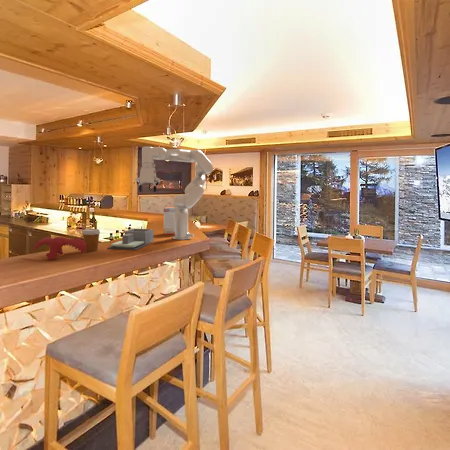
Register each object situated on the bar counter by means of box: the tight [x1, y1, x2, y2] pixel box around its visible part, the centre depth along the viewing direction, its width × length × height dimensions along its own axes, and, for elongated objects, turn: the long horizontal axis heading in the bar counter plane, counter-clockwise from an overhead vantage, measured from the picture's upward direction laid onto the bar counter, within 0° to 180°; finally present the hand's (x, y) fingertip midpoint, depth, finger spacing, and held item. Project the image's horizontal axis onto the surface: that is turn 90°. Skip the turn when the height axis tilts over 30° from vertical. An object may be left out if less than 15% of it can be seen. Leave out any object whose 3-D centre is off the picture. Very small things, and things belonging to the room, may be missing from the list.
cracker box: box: [163, 206, 175, 236], centre depth 257 cm, size 14×6×21 cm, turn 84°
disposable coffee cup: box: [81, 228, 101, 253], centre depth 188 cm, size 10×10×12 cm
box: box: [124, 227, 154, 245], centre depth 219 cm, size 14×14×8 cm
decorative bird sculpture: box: [32, 236, 87, 261], centre depth 169 cm, size 28×9×15 cm
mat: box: [106, 243, 149, 251], centre depth 203 cm, size 18×18×1 cm
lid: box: [110, 233, 144, 248], centre depth 203 cm, size 15×15×7 cm
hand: (147, 191), depth 220 cm, fingers open, 9 cm apart
